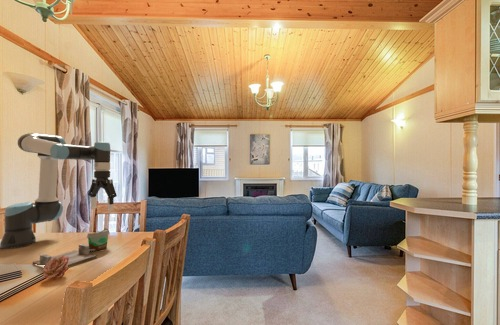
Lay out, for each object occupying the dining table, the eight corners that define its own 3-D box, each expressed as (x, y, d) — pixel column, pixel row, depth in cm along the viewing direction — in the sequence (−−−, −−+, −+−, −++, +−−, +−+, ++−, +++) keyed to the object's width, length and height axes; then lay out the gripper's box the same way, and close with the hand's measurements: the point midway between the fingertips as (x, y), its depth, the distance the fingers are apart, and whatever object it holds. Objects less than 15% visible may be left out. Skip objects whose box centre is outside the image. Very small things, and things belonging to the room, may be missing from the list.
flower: (57, 267, 107) (46, 255, 102) (79, 262, 108) (69, 250, 103) (46, 288, 99) (34, 277, 94) (70, 283, 100) (59, 271, 95)
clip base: (32, 264, 114) (32, 253, 114) (74, 252, 130) (74, 242, 130) (55, 271, 106) (55, 259, 106) (96, 257, 122) (96, 247, 122)
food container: (96, 253, 128) (97, 234, 128) (86, 253, 129) (87, 233, 129) (114, 246, 140) (114, 228, 140) (105, 245, 141) (105, 228, 142)
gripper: (81, 170, 137) (80, 209, 137) (111, 170, 127) (110, 212, 126) (94, 170, 144) (94, 207, 144) (124, 170, 134) (123, 210, 133)
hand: (102, 209), depth 135 cm, fingers open, 13 cm apart
